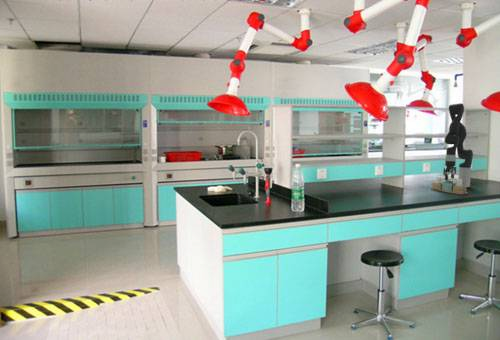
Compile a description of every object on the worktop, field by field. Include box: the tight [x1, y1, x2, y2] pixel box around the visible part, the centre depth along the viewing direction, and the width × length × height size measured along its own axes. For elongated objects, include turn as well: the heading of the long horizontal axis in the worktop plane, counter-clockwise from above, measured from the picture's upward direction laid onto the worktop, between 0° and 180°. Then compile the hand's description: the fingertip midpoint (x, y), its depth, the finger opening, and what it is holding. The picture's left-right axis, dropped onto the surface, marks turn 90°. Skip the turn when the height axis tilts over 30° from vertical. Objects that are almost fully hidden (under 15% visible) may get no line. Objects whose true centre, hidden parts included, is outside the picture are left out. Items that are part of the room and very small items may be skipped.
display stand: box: [430, 180, 468, 195], centre depth 350 cm, size 8×27×9 cm, turn 33°
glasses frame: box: [436, 176, 462, 186], centre depth 349 cm, size 3×20×5 cm, turn 33°
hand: (449, 179), depth 349 cm, fingers open, 8 cm apart
